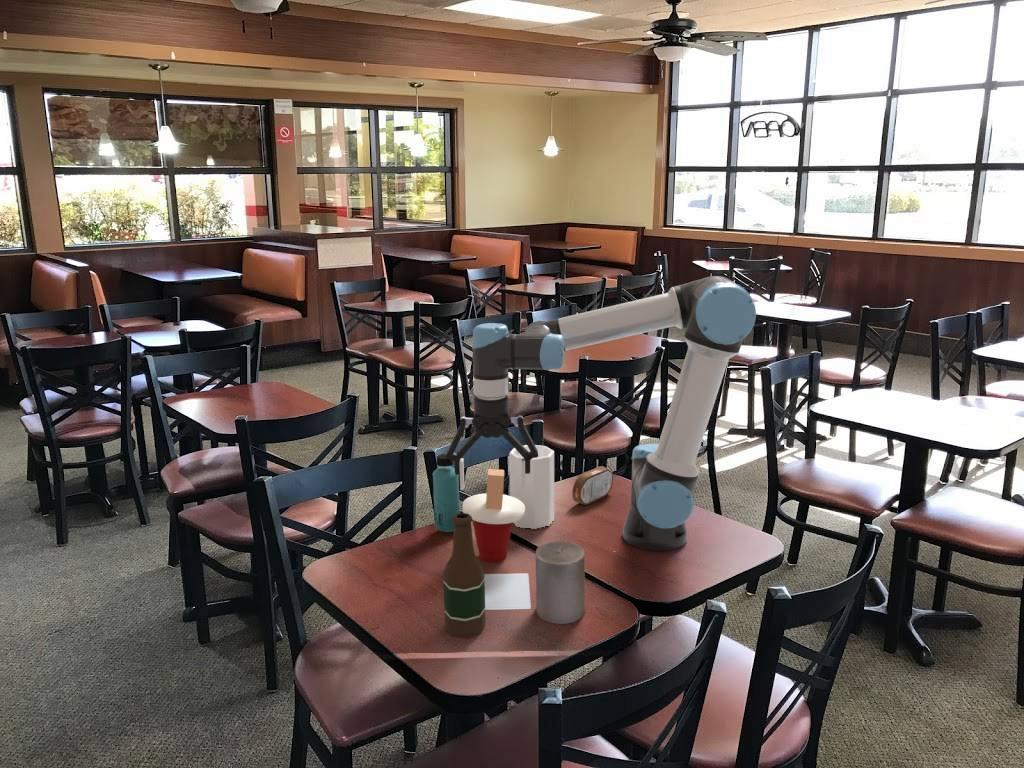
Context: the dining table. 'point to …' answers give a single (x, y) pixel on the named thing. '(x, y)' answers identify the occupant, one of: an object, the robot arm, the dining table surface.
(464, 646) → the dining table surface
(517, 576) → the mat
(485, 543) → the plastic cup
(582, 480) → the tin
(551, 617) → the pillar candle
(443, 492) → the beverage bottle
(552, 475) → the cup
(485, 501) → the lid
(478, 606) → the beer bottle
